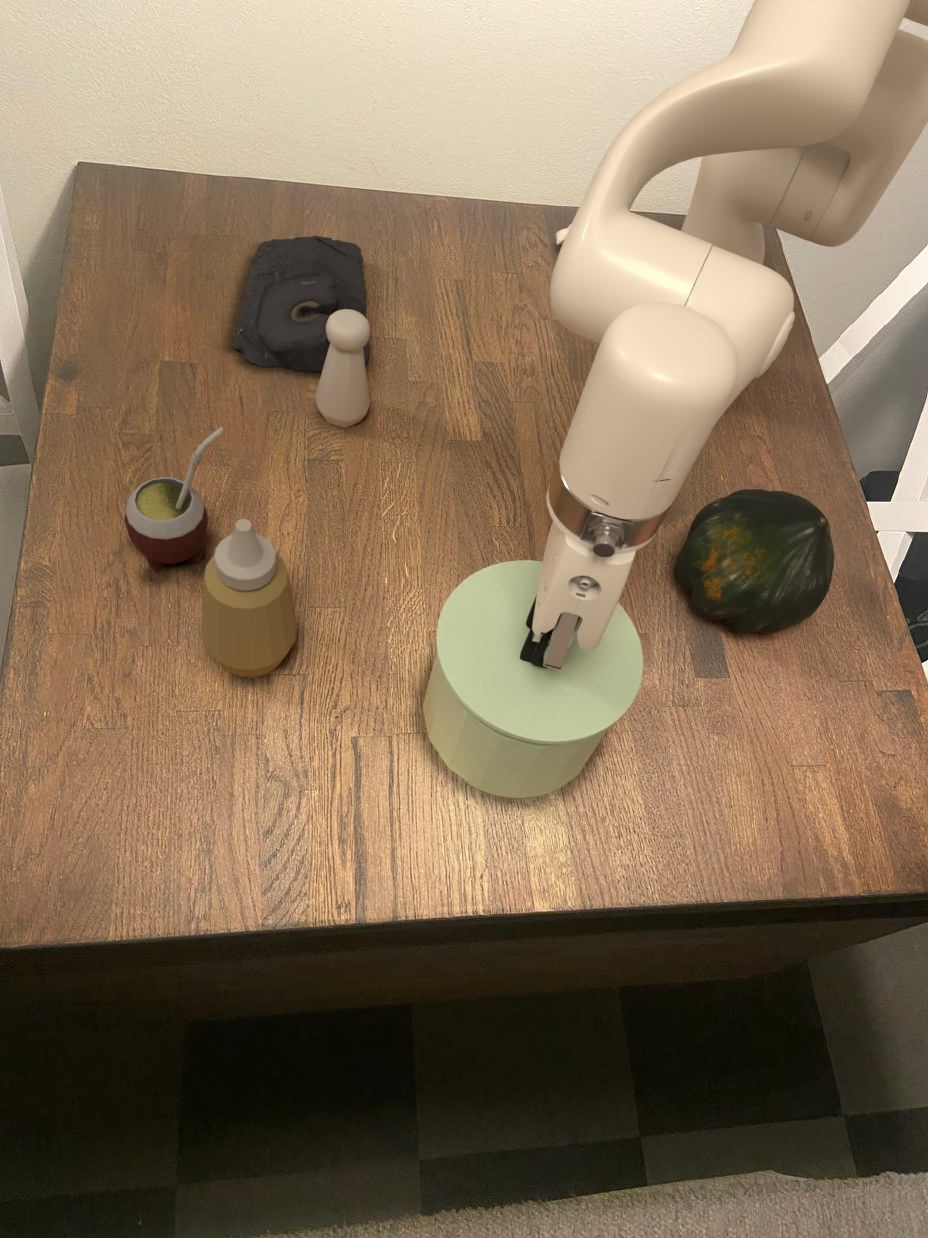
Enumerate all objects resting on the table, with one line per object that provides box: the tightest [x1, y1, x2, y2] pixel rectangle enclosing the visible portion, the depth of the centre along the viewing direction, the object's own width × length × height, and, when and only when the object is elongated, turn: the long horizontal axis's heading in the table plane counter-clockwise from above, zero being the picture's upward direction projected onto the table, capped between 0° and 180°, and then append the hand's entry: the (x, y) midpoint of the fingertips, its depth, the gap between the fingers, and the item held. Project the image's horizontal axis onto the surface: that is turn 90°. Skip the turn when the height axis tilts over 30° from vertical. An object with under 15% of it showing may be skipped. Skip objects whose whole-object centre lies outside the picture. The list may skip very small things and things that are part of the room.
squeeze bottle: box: [200, 518, 298, 678], centre depth 75 cm, size 8×8×18 cm
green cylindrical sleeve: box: [422, 651, 609, 799], centre depth 78 cm, size 16×16×10 cm
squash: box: [672, 488, 835, 635], centre depth 90 cm, size 14×15×15 cm
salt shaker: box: [314, 309, 371, 429], centre depth 94 cm, size 6×6×13 cm
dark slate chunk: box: [232, 235, 371, 373], centre depth 106 cm, size 15×22×5 cm
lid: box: [435, 559, 644, 745], centre depth 71 cm, size 17×17×7 cm
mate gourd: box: [124, 425, 225, 574], centre depth 80 cm, size 8×8×15 cm
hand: (542, 643), depth 72 cm, fingers closed on lid, 2 cm apart
